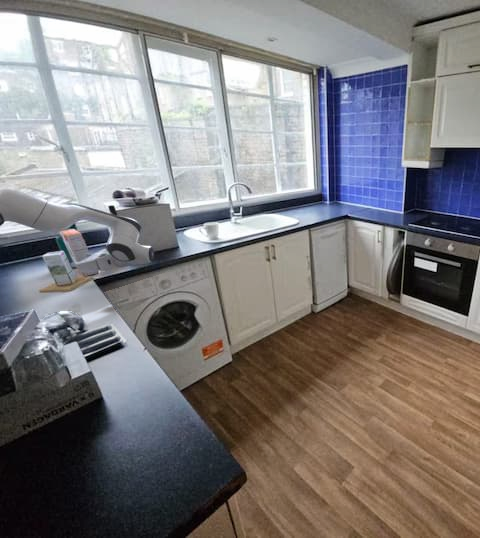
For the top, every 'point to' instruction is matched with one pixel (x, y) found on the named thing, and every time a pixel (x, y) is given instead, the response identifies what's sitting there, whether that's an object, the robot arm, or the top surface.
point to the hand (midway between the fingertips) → (79, 260)
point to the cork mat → (68, 287)
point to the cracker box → (76, 247)
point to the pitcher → (63, 246)
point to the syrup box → (59, 268)
